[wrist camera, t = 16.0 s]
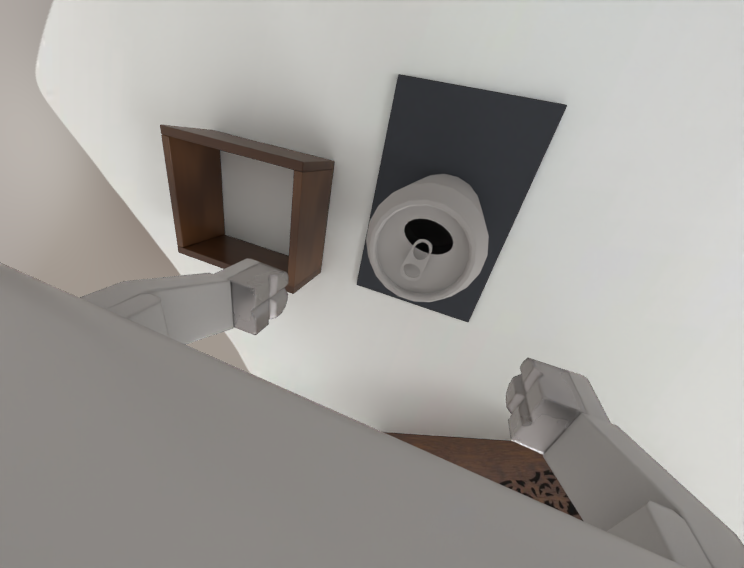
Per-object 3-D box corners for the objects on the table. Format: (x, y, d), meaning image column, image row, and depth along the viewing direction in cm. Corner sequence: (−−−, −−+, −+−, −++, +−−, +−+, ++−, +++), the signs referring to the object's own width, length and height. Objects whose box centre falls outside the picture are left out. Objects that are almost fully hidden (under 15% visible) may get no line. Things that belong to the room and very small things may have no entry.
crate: (213, 130, 30) (159, 124, 25) (334, 160, 27) (303, 161, 22) (220, 238, 36) (178, 252, 30) (320, 272, 33) (293, 294, 28)
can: (498, 193, 24) (522, 222, 13) (455, 266, 27) (448, 333, 17) (419, 159, 24) (383, 161, 14) (388, 234, 28) (341, 279, 18)
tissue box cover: (403, 494, 46) (388, 572, 37) (379, 432, 41) (356, 504, 33) (589, 524, 36) (627, 639, 27) (585, 446, 32) (630, 555, 23)
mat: (399, 75, 23) (398, 74, 22) (565, 105, 20) (567, 104, 20) (357, 283, 32) (356, 284, 32) (468, 320, 30) (468, 322, 29)
